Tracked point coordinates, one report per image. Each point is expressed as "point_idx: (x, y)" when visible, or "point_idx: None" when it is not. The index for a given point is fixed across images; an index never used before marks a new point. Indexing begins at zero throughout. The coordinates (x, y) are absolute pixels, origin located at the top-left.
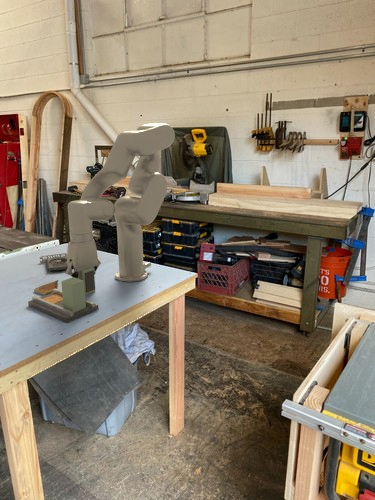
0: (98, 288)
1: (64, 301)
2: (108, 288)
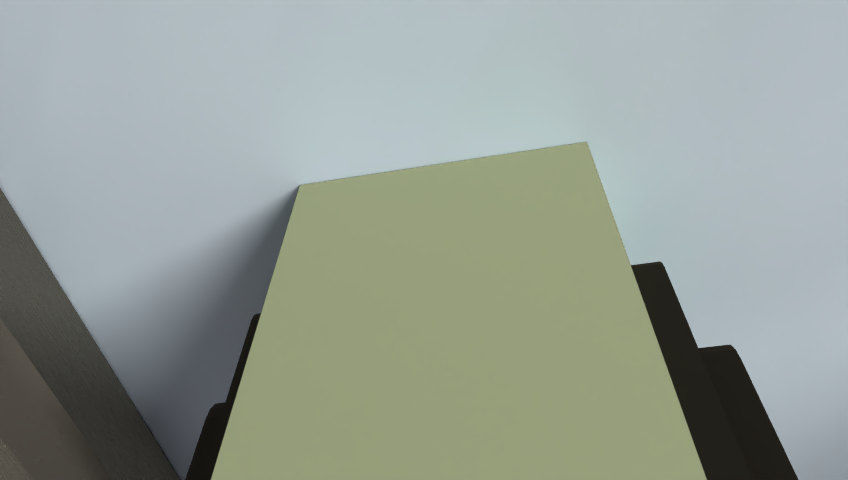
0: (740, 308)
1: None
2: (844, 403)
